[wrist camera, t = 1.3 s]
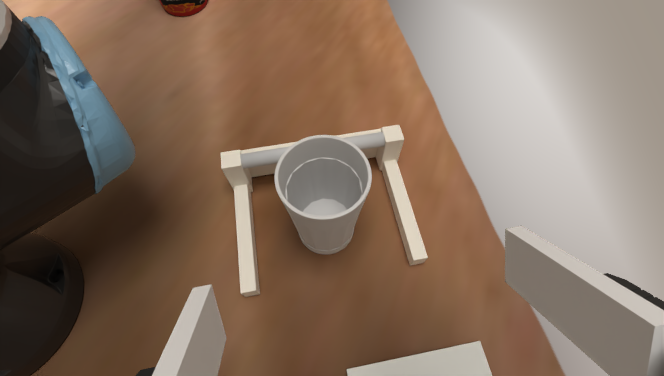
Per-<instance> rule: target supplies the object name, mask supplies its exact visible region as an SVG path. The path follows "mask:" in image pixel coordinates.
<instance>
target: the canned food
mask: <svg viewBox="0 0 664 376" xmlns="http://www.w3.org/2000/svg"><path fill="white" fill-rule="evenodd" d="M159 1H160V3H161V5H162V6H163V8H164V9H165V10H166V11H167V12H168V13H170V14H172V15H175V16H189V15H193V14H195V13H197V12H199V11H201V10H202V9H203V8H204V7H205V5H206V4H207V1H208V0H159Z"/></svg>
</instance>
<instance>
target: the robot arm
mask: <svg viewBox="0 0 664 376" xmlns="http://www.w3.org/2000/svg"><path fill="white" fill-rule="evenodd" d="M22 20H23V21H22V22H21V21H20V20H19V19H18V18H17V16H16V15H15V14H14V13H13V12H12V11H11V10H10V9H9V8H8V6H7V5H6V4H5V3H4V2H3V1H2V0H0V376H29V375H31V374H32V373H33V372H35V371H36V370H37V369H38V368H40V367H41V366H42V365H43V364H44V363H45V362H46V361H47V360H48V359H49V358H50V357H51V356H52V355H53V354H54V353H55V352H56V350H57V349H58V348H59V347H60V345H61V344H62V343H63V341H64V340H65V338H66V337H67V335H68V334H69V332H70V330H71V328H72V327H73V325H74V322H75V320H76V318H77V315H78V313H79V310H80V307H81V303H82V297H83V286H84V285H83V275H82V271H81V268H80V265H79V263H78V261H77V259H76V258H75V256H74V255H73V254H72V253H71V252H70V251H69V250H68V249H67V248H65V247H64V246H62V245H61V244H59V243H56V242H54V241H52V240H50V239H47V238H45V237H43V236H40V235H36V234H31V233H30V232H32V231H33V230H35V229H37V228H38V227H40V226H42V225H43V224H45V223H47V222H48V221H50V220H52V219H53V218H55V217H56V216H58V215H60V214H61V213H63V212H65V211H66V210H68V209H70V208H71V207H73V206H75V205H76V204H78V203H80V202H81V201H83V200H85V199H86V198H88V197H90V196H91V195H93V194H97V193H99V192H100V191H101V190H102V188H103V186H105V185H106V184H107V183H109V182H110V181H112V180H113V179H115V178H116V177H117V176H119V175H120V174H122V173H123V172H125V171H126V170H127V169H129V167H130V166H131V165H132V163H133V161H134V159H135V147H134V144H133V142H132V140H131V138H130V136H129V135H128V133H127V131H126V129H125V128H124V126H123V124H122V123H121V121H120V119H119V118H118V116H117V114H116V113H115V111H114V110H113V108H112V107H111V105H110V103H109V102H108V100H107V99H106V97H105V96H104V94H103V93H102V91H101V90H100V88H99V87H98V86H97V84H96V83H95V82H94V81H93V80H92V77H91V75H90V74H89V72H88V71H87V69H86V68H85V66H84V65H83V63H82V61H81V60H80V58H79V57H78V55H77V54H76V52H75V51H74V49H73V48H72V47H71V45H70V44H69V42H68V41H67V39H66V38H65V37H64V35H63V34H62V33H61V31H60V30H59V29H58V27H57V26H56V25H55V24H54V23H53V22H52V21H51V20H50V19H48V18H46V17H42V16H41V17H36V18H33V17H30V16H28V17H25V18H23V19H22ZM505 230H506V231H505V239H506V240H505V282H506V283H507V284H508V285H509V286H510V287H512V288H513V289H514V290H515V291H516V292H517V293H518V294H519V295H520V296H522V297H523V298H524V299H525V300H526V301H527V302H528V303H529V304H530V305H532V306H533V307H534V308H535V309H536V310H537V311H538V312H539V313H541V314H542V315H543V316H544V317H545V318H546V319H547V320H548V321H549V322H551V323H552V324H553V325H554V326H555V327H556V328H557V329H558V330H560V331H561V332H562V333H563V334H564V335H565V336H566V337H567V338H568V339H569V340H571V341H572V342H573V343H574V344H575V345H576V346H577V347H578V348H580V349H581V350H582V351H583V352H584V353H585V354H586V355H587V356H588V357H590V358H591V359H592V360H593V361H594V362H595V363H596V364H598V366H600V367H601V368H602V369H603V370H604V371H605V372H606V373H607V374H609V375H610V376H664V301H662V300H660V299H658V298H657V297H655V298H654V297H653V295H651V294H650V293H648V292H646V291H644V290H641V289H640V288H639V287H637V286H636V285H634V284H632V283H630V282H629V281H627V280H625V279H622V278H619V277H616V276H613V275H611V274H608V273H607V274H602V273H600V272H598V271H597V270H595V269H593V268H592V267H590V266H588V265H587V264H585V263H583V262H582V261H580V260H578V259H577V258H575V257H573V256H571V255H570V254H568V253H567V252H565V251H563V250H561V249H560V248H558V247H556V246H555V245H553V244H551V243H550V242H548V241H546V240H545V239H543V238H541V237H540V236H538V235H536V234H534V233H533V232H531V231H530V230H528V229H526V228H525V227H523V226H517V227H512V228H507V229H505ZM225 342H226V334H225V331H224V327H223V324H222V320H221V316H220V313H219V309H218V306H217V302H216V299H215V295H214V292H213V288H212V285H206V286H201V287H195V288H193V289H192V291H191V293H190V295H189V298H188V300H187V302H186V304H185V306H184V308H183V310H182V312H181V315H180V317H179V319H178V321H177V323H176V325H175V327H174V330H173V332H172V334H171V336H170V338H169V340H168V342H167V345H166V347H165V349H164V351H163V353H162V355H161V357H160V359H159V362H158V364H157V366H156V367H153V368H148V369H143V370H140V371H139V372H138V374H137V375H136V376H217V375H218V371H219V367H220V363H221V359H222V354H223V350H224V346H225Z"/></svg>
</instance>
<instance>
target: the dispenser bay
mask: <svg viewBox="0 0 664 376" xmlns="http://www.w3.org/2000/svg"><path fill="white" fill-rule="evenodd" d="M337 137H340V138H343V139H346V140H348V141H350V142H351V143H353V144H354V145H356V146H357V147H358V148H359V149H360V150H361V151H362V152H363V153H364V155H365V156H366V158H373V157H376V160H377V163H378V167H379V170H382V173H383V177H384V180H385V183H386V187H387V190H388V194H389V197H390V200H391V204H392V207H393V210H394V214H395V217H396V221H397V224H398V227H399V231H400V234H401V238H402V241H403V244H404V248H405V251H406V254H407V258H408V261H409V265H415V264H420V263H424V262H425V260H426V259H427V258H428V257H427V254H426V251H425V247H424V244H423V241H422V238H421V235H420V232H419V229H418V226H417V223H416V220H415V217H414V213H413V210H412V207H411V204H410V201H409V198H408V195H407V192H406V189H405V186H404V183H403V179H402V176H401V173H400V170H399V167H398V164H397V161H398V158H399V155H400V152H401V148H402V145H403V142H404V137H403V134H402V131H401V128H400V126H399V125H394V126H388V127H382V128H381V129H376V130H369V131H363V132H356V133H350V134H344V135H337ZM294 143H296V142H293V143H286V144H280V145H273V146H267V147H261V148H254V149H248V150H242V151H240V150H234V151H228V152H221V169H222V170H223V172H224V174H225V176H226V178H227V179H228V181H229V183H230V185H231V186H232V188H233V190H234V196H235V212H236V227H237V243H238V258H239V274H240V290H241V294H242V295H244V296H245V297H248V296H253V295H258V294H260V289H259V277H258V266H257V255H256V244H255V233H254V221H253V210H252V199H251V192H253V186H252V177H257V176H263V175H269V174H275V169H276V166H277V163H278V161H279V159H280V157H281V156H282V154H283V153H284V152H285V151H286V150H287V149H288V148H289V147H290V146H291V145H293V144H294Z"/></svg>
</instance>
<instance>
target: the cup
mask: <svg viewBox="0 0 664 376" xmlns="http://www.w3.org/2000/svg"><path fill="white" fill-rule="evenodd" d="M274 180H275V187H276V190H277V193H278V195H279V197H280V199H281V200H282V202H283V204H284V206H285V208H286V210H287V211H288V213H289V215H290V217H291V219H292V221H293V223H294V225H295V227H296V229H297V231H298V234H299V237H300V239H301V241H302V243H303V244H304V245H305V246H306V247H307V248H308V249H309V250H311V251H313V252H315V253H318V254H333V253H336V252H339V251H341V250H342V249H344V248H345V247H346V246H347V245H348V244H349V242H350V241H351V239H352V236H353V233H354V227H355V224H356V221H357V218H358V216H359V213H360V211H361V209H362V207H363V204H364V202H365V199H366V197H367V195H368V192H369V190H370V186H371V181H372V173H371V167H370V164H369V162H368V159H367V158H366V156H365V155H364V153H363V152H362V151H361V150H360V149H359V148H358V147H357V146H356V145H354V144H353V143H351V142H350V141H348V140H346V139H343V138H340V137H337V136H332V135H316V136H311V137H307V138H304V139H302V140H300V141H298V142H296V143H294V144H293V145H291V146H290V147H289V148H288V149H287V150H286V151H285V152H284V153H283V154H282V156H281V157H280V159H279V161H278V163H277V166H276V169H275V176H274Z"/></svg>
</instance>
